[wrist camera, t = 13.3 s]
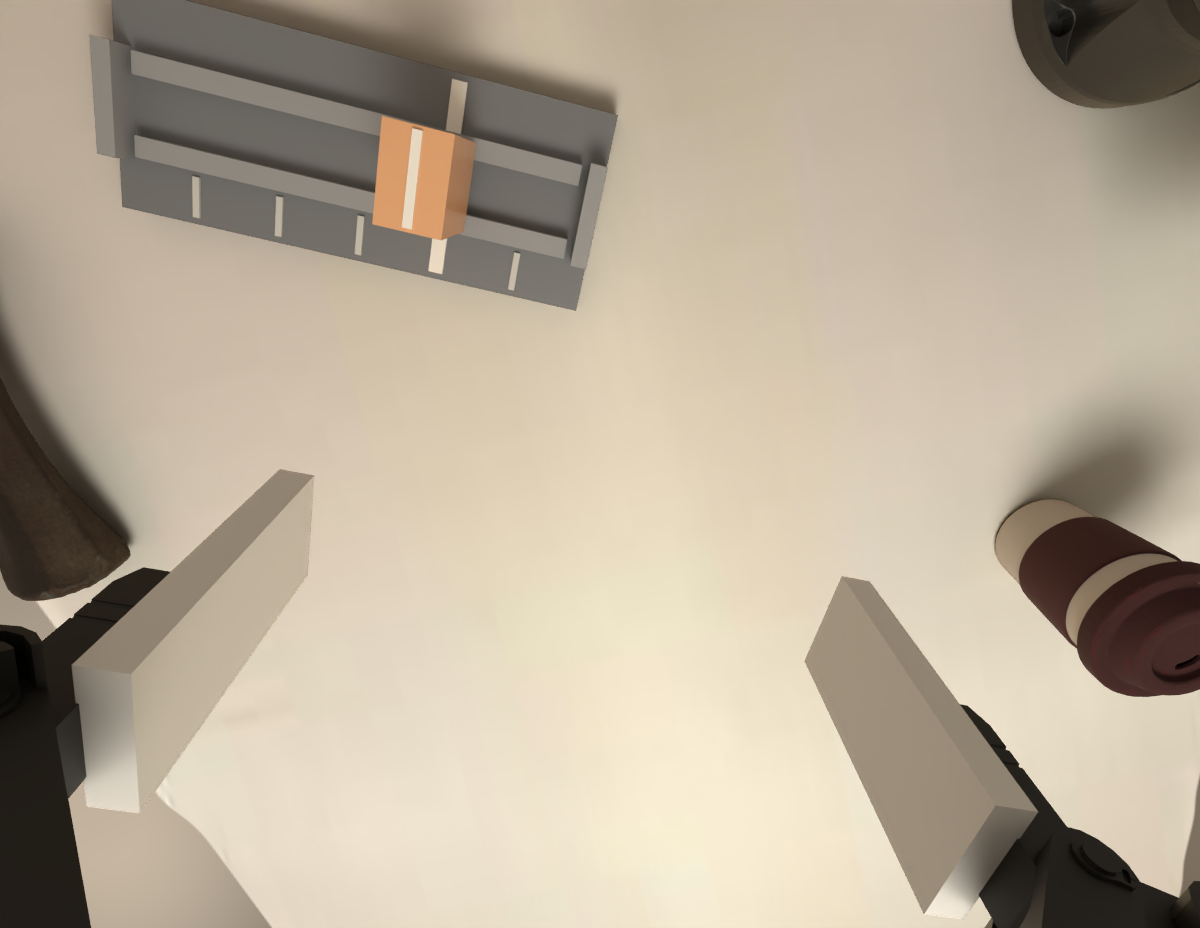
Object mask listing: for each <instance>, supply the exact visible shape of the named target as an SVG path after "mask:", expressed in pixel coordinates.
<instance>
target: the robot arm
mask: <svg viewBox="0 0 1200 928" xmlns="http://www.w3.org/2000/svg"><path fill="white" fill-rule="evenodd" d="M1013 17H1014V25H1015V30H1016V35H1017V39H1018V42H1019V46H1020V48H1021V51H1022V54H1023V56H1024V58H1025V60H1026V62H1027V64H1028V66H1029V67H1030V69H1031V71H1032V72H1033V73H1034V75H1035V76H1036V77H1037V79H1038V80H1039V81H1040V82H1041V83H1042V84H1043V85H1044V86H1045V87H1046V88H1047V89H1048V90H1050V91H1051V92H1052V93H1054V94H1055V95H1057V96H1059V97H1060V98H1062V99H1064V100H1066V101H1068V102H1071V103H1074V104H1076V105H1080V106H1084V107H1091V108H1116V107H1123V106H1130V105H1137V104H1143V103H1148V102H1153V101H1156V100H1160V99H1163V98H1166V97H1169V96H1171V95H1174V94H1177V93H1179V92H1181V91H1184V90H1186V89H1188V88H1190V87H1192V86H1194V85H1195V84H1197V83H1199V82H1200V0H1013ZM313 486H314V476H313V475H308V474H302V473H297V472H292V471H287V470H281V469H280V470H279V471H278V472H277V473H276V474H275V475H273V476H272V477H271V478H270V479H269V480H268V481H267V482H266V483H265V484H264V485H263V486H262V487H261V488H260V489H259V490H257V491H256V492H255V493H254V494H253V495H252V496H251V497H250V498H249V499H248V500H247V501H246V502H245V503H244V504H243V505H242V506H240V507H239V508H238V509H237V510H236V511H235V512H234V513H233V514H232V515H231V516H230V517H229V518H228V519H227V520H226V521H224V522H223V523H222V524H221V525H220V526H219V527H218V528H217V529H216V530H215V531H214V532H213V533H212V534H211V535H210V536H209V537H207V538H206V539H205V540H204V541H203V542H202V543H201V544H200V545H199V546H198V547H197V548H196V549H195V550H194V551H193V552H191V553H190V554H189V555H188V556H187V557H186V558H185V559H184V560H183V561H182V562H181V563H180V564H179V565H178V566H177V567H176V568H174V569H173V570H172V571H171V572H168V571H162V570H156V569H150V568H141V569H139V570H137V571H135V572H132V573H130V574H128V575H126V576H124V577H121V578H119V579H117V580H115V581H113V582H112V583H111V584H109V585H108V586H107V587H106V588H105V589H103V590H102V591H101V592H100V593H99V594H98V595H96V596H95V597H94V598H93V599H92V601H91V603H87V604H86V605H84V606H83V607H82V608H81V609H80V610H79V611H77V612H76V613H75V614H74V617H73V618H69V619H68V620H67V621H66V622H64V623H63V624H62V625H61V626H60V627H58V628H57V629H56V630H55V631H54V632H52V633H51V634H50V635H49V636H48V637H47V638H45V639H44V640H43V641H41V639H40V638H39V636H38V635H37V633H36V632H33V631H31V630H28V629H26V628H23V627H20V626H9V625H0V928H91V925H90V920H89V914H88V908H87V902H86V897H85V891H84V885H83V880H82V875H81V869H80V863H79V857H78V852H77V846H76V841H75V835H74V829H73V824H72V818H71V813H70V807H69V801H68V798H69V797H70V796H71V795H72V794H73V792H74V791H75V790H76V789H77V788H78V786H79V785H80V784H81V783H82V782H83V780H84V786H85V795H86V805H87V807H94V808H101V809H102V808H103V809H109V810H118V811H125V812H133V813H140V812H141V811H142V810H143V808H144V807H145V805H146V804H147V802H148V801H149V800H150V798H151V797H152V795H153V794H154V792H155V791H156V790H157V788H158V787H159V785H160V784H161V783H162V781H163V780H164V778H165V777H166V775H167V774H168V773H169V771H170V770H171V768H172V767H173V765H174V764H175V763H176V761H177V760H178V758H179V757H180V756H181V754H182V753H183V751H184V750H185V748H186V747H187V746H188V744H189V743H190V741H191V740H192V738H193V737H194V736H195V734H196V733H197V731H198V730H199V729H200V727H201V726H202V724H203V723H204V721H205V720H206V719H207V717H208V716H209V714H210V713H211V711H212V710H213V709H214V707H215V706H216V704H217V703H218V702H219V700H220V699H221V697H222V696H223V694H224V693H225V692H226V690H227V689H228V687H229V686H230V684H231V683H232V682H233V680H234V679H235V677H236V676H237V675H238V673H239V672H240V670H241V669H242V667H243V666H244V665H245V663H246V662H247V660H248V659H249V657H250V656H251V655H252V653H253V652H254V650H255V649H256V648H257V646H258V645H259V643H260V642H261V640H262V639H263V638H264V636H265V635H266V633H267V632H268V630H269V629H270V628H271V626H272V625H273V623H274V622H275V621H276V619H277V618H278V616H279V615H280V613H281V612H282V611H283V609H284V608H285V606H286V605H287V603H288V602H289V601H290V599H291V598H292V596H293V595H294V594H295V592H296V591H297V589H298V588H299V586H300V585H301V584H302V582H303V581H304V579H305V578H306V577H307V575H308V562H309V547H310V532H311V516H312V501H313ZM805 663H806V665H807V667H808V669H809V672H810V674H811V676H812V678H813V680H814V682H815V684H816V686H817V689H818V691H819V693H820V695H821V697H822V699H823V701H824V703H825V705H826V708H827V710H828V712H829V714H830V716H831V718H832V720H833V722H834V725H835V727H836V729H837V731H838V733H839V735H840V737H841V739H842V742H843V744H844V746H845V748H846V750H847V752H848V754H849V756H850V758H851V761H852V763H853V765H854V767H855V769H856V771H857V773H858V775H859V778H860V780H861V782H862V784H863V786H864V788H865V790H866V792H867V794H868V797H869V799H870V801H871V803H872V805H873V807H874V809H875V811H876V814H877V816H878V818H879V820H880V822H881V824H882V826H883V828H884V831H885V833H886V835H887V837H888V839H889V841H890V843H891V845H892V847H893V850H894V852H895V854H896V856H897V858H898V860H899V862H900V864H901V867H902V869H903V871H904V873H905V875H906V877H907V879H908V881H909V884H910V886H911V888H912V890H913V892H914V894H915V896H916V898H917V900H918V903H919V905H920V907H921V909H922V911H923V913H924V915H932V916H940V917H948V918H955V919H963V920H964V918H965V917H966V915H967V914H968V912H969V911H970V910H971V908H972V907H973V905H974V904H975V902H976V901H977V900H978V898H979V897H980V898H981V900H982V901H983V903H984V905H985V907H986V909H987V910H988V912H989V914H990V916H991V917H992V918H991V919H990V921H989V922H988V924H987V925H986V926H985V928H1200V881H1194V882H1193V883H1192V884H1191V885H1190V886H1189V887H1188V889H1187V890H1186V891H1185V892H1184V893H1183V894H1182V895H1181V896H1180V898H1178V897H1175V896H1173V895H1170V894H1168V893H1166V892H1163V891H1161V890H1158V889H1156V888H1154V887H1151V886H1149V885H1146V884H1144V883H1141V882H1139V879H1138V878H1137V877H1136V875H1135V874H1134V872H1133V871H1132V870H1131V868H1130V867H1129V865H1128V864H1127V863H1126V862H1125V861H1124V860H1123V859H1121V858H1120V857H1119V856H1118V855H1117V854H1116V853H1115V852H1114V851H1113V850H1112V849H1110V848H1109V847H1108V846H1106V845H1105V844H1103V843H1102V842H1101V841H1099V840H1098V839H1096V838H1094V837H1092V836H1090V835H1088V834H1086V833H1084V832H1082V831H1080V830H1077V829H1073V828H1068V827H1067V826H1066V825H1065V824H1064V822H1063V821H1062V820H1061V818H1060V817H1059V816H1058V814H1057V813H1056V812H1055V811H1054V809H1053V808H1052V807H1051V805H1050V804H1049V803H1048V801H1047V800H1046V799H1045V797H1044V796H1043V795H1042V793H1041V792H1040V791H1039V789H1038V788H1037V787H1036V785H1035V784H1034V783H1033V782H1032V780H1031V779H1030V778H1029V776H1028V775H1027V774H1026V772H1025V771H1024V770H1023V768H1019V763H1018V762H1017V760H1016V759H1015V758H1014V757H1013V755H1012V754H1011V753H1010V751H1008V750H1006V746H1005V745H1004V743H1003V742H1002V741H1001V739H1000V738H999V737H998V735H997V734H996V733H995V732H994V730H993V729H992V728H991V726H990V725H989V724H988V723H986V722H985V721H984V720H983V719H982V718H981V717H980V716H978V715H977V714H976V713H975V712H974V711H973V710H972V709H970V708H969V707H968V706H966V705H960V704H959V703H958V701H957V700H956V699H955V697H954V696H953V695H952V693H951V692H950V690H949V689H948V688H947V686H946V685H945V684H944V682H943V681H942V680H941V678H940V677H939V675H938V674H937V673H936V671H935V670H934V669H933V667H932V666H931V665H930V663H929V662H928V660H927V659H926V658H925V656H924V655H923V654H922V652H921V651H920V650H919V648H918V647H917V645H916V644H915V643H914V641H913V640H912V639H911V637H910V636H909V634H908V633H907V632H906V630H905V629H904V628H903V626H902V625H901V624H900V622H899V621H898V619H897V618H896V617H895V615H894V614H893V613H892V611H891V610H890V609H889V607H888V606H887V604H886V603H885V602H884V600H883V599H882V598H881V596H880V595H879V593H878V592H877V591H876V589H875V588H874V587H873V585H872V584H871V583H870V582H869V581H864V580H859V579H854V578H848V577H843V576H842V577H841V580H840V582H839V584H838V586H837V589H836V591H835V593H834V595H833V598H832V600H831V602H830V604H829V607H828V609H827V611H826V613H825V616H824V618H823V620H822V623H821V625H820V627H819V629H818V632H817V634H816V636H815V638H814V641H813V643H812V645H811V647H810V650H809V652H808V654H807V657H806V659H805Z"/></svg>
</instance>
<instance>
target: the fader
mask: <svg viewBox="0 0 1200 928" xmlns="http://www.w3.org/2000/svg"><path fill="white" fill-rule="evenodd" d="M475 149H476V143H474V142H472V141H470V140H467V139H465V138H462V137H460V136H457V135H455V134H451V133H447V132H443V131H439V130H436V129H432V128H428V127H424V126H420V125H416V124H412V123H408V122H404V121H400V120H396V119H392V118H389V117H385V116H382V120H381V132H380V143H379V154H378V165H377V176H376V188H375V199H374V210H373V221H372V224H374V225H378V226H382V227H386V228H390V229H395V230H399V231H403V232H407V233H412V234H416V235H420V236H424V237H429V238H433V239H437V240H444V239H446V238H449V237H452V236H454V235H457V234H459V233H462V232H464V227H465V220H466V213H467V206H468V199H469V192H470V185H471V178H472V171H473V164H474V157H475Z"/></svg>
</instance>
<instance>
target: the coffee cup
mask: <svg viewBox="0 0 1200 928" xmlns="http://www.w3.org/2000/svg"><path fill="white" fill-rule="evenodd" d="M995 550H996V555H997V558H998V560H999V562H1000V564H1001V565H1002V566H1003V567H1004V568H1005V570H1006V571H1007V572H1008V573H1009V574H1010V575H1011V576H1012V577H1013V578H1014V579H1015V580H1016V581H1017V582H1018V583H1019V584H1020V586H1021V588H1022V590H1023V592H1024V593H1025V595H1026V596H1027V597H1028V598H1029V599H1030V600H1031V602H1032V603H1033V604H1034V605H1035V606H1036V607H1037V608H1038V609H1039V610H1040V611H1041V612H1042V613H1043V615H1044V616H1045V617H1046V618H1047V619H1048V620H1049V621H1050V622H1051V623H1052V624H1053V625H1054V626H1055V628H1056V629H1057V630H1058V631H1059V632H1060V633H1061V634H1062V635H1063V636H1064V637H1065V638H1066V639H1067V641H1068V642H1069V643H1070V644H1072V645H1073V646H1074V647H1075V648H1077V651H1078V654H1079V658H1080V660H1081V661H1082V663H1083V665H1084V666H1085V668H1086V669H1087V670H1088V671H1089V672H1090V673H1091V674H1092V675H1093V676H1094V677H1095V678H1096V679H1097V680H1099V681H1100V682H1101V683H1102V684H1103V685H1104V686H1105V687H1107V688H1109V689H1111V690H1112V691H1114V692H1117V693H1120V694H1124V695H1127V696H1134V697H1149V696H1159V695H1181V694H1186V693H1190V692H1194V691H1196V690H1199V689H1200V564H1198V563H1193V562H1186V561H1181V560H1180V559H1179V558H1177V557H1176V556H1175V555H1173V554H1171V553H1169V552H1167V551H1165V550H1163V549H1162V548H1160V547H1158V546H1156V545H1154V544H1152V543H1150V542H1148V541H1146V540H1144V539H1143V538H1141V537H1139V536H1137V535H1135V534H1133V533H1131V532H1129V531H1127V530H1126V529H1124V528H1122V527H1120V526H1118V525H1116V524H1114V523H1112V522H1110V521H1108V520H1105V519H1102V518H1097V517H1095V516H1093V515H1091V514H1089V513H1087V512H1085V511H1084V510H1082V509H1080V508H1078V507H1076V506H1074V505H1072V504H1070V503H1068V502H1065V501H1061V500H1056V499H1046V500H1040V501H1035V502H1032V503H1030V504H1027V505H1025V506H1023V507H1021V508H1020V509H1018V510H1017V511H1015V512H1014V513H1013V514H1012V515H1011V516H1009V518H1008V519H1007V520H1006V521H1005V522H1004V524H1003V525H1002V527H1001V528H1000V530H999V533H998V535H997V538H996V543H995Z"/></svg>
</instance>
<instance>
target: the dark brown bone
mask: <svg viewBox="0 0 1200 928" xmlns="http://www.w3.org/2000/svg"><path fill="white" fill-rule="evenodd" d="M129 557H130V550H129V548H128V546H127V545H126V543H125V542H124V541H123V540H122V539H121V538H120V537H119V536H118V535H117V534H116V533H115V532H114V531H113V530H112V529H111V528H110V527H109V526H108V525H107V524H106V523H105V522H104V521H103V520H102V519H101V518H100V517H99V516H98V515H97V514H96V513H95V512H94V511H93V510H92V509H91V508H90V507H89V506H88V505H86V503H85V502H84V501H83V500H82V499H81V498H80V497H79V496H78V495H77V494H76V493H75V492H74V490H73V489H72V488H71V487H70V486H69V485H68V483H67V482H66V481H65V480H64V479H63V478H62V476H61V475H60V474H59V473H58V471H57V470H56V469H55V467H54V466H53V465H52V464H51V462H50V461H49V459H48V458H47V457H46V455H45V454H44V453H43V451H42V450H41V448H40V447H39V445H38V444H37V442H36V441H35V439H34V437H33V436H32V435H31V433H30V432H29V430H28V428H27V427H26V425H25V423H24V422H23V420H22V418H21V416H20V415H19V413H18V411H17V409H16V408H15V406H14V404H13V402H12V400H11V398H10V396H9V394H8V392H7V390H6V388H5V386H4V384H3V382H2V380H1V378H0V571H1V573H2V576H3V579H4V581H5V583H6V586H7V588H8V590H9V591H10V592H11V593H12V594H14V595H15V596H17V597H19V598H21V599H22V600H26V601H41V600H48V599H54V598H59V597H63V596H66V595H68V594H71V593H75V592H77V591H80V590H82V589H84V588H88V587H91V586H92V585H94V584H96V583H97V582H98V581H100V580H102V579H103V578H105V577H107V576H108V575H109V574H110V573H112V572H113V571H114V570H116V569H117V568H118V567H119V566H121V565H122V564H123V563H124V562H125V561H126V560H127V559H128V558H129Z"/></svg>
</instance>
